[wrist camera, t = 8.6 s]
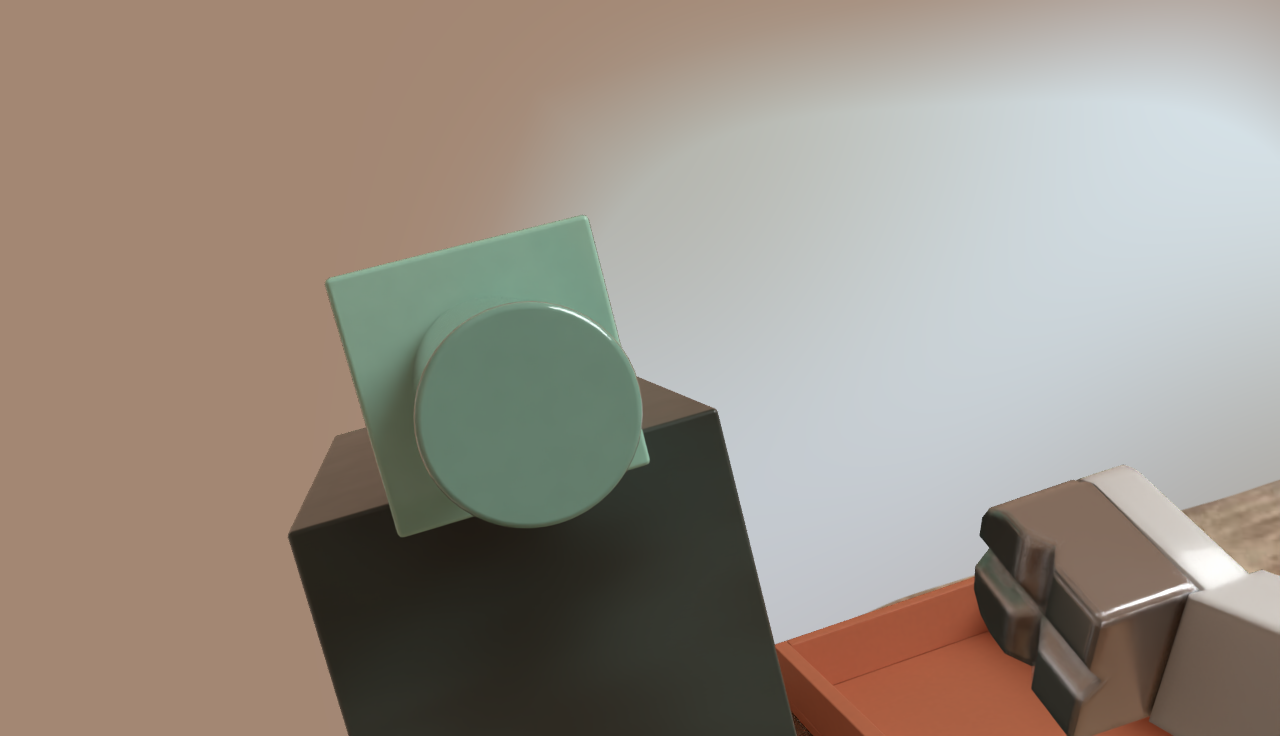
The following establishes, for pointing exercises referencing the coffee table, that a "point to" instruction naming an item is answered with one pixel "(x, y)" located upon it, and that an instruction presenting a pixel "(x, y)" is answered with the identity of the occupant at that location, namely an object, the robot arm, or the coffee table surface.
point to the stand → (549, 603)
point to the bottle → (492, 379)
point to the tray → (917, 675)
